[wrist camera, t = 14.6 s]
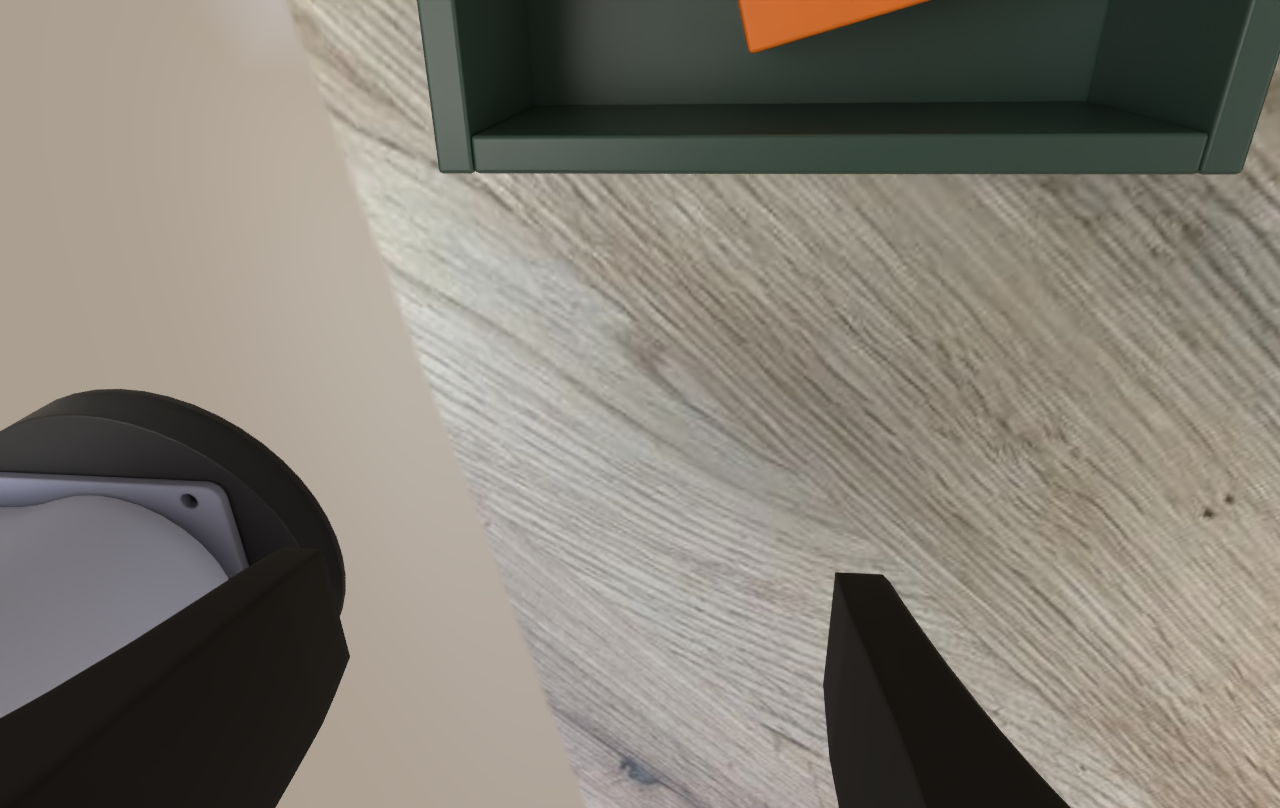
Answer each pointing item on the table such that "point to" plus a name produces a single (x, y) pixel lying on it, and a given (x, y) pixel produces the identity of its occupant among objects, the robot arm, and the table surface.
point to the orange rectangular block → (805, 18)
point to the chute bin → (849, 88)
